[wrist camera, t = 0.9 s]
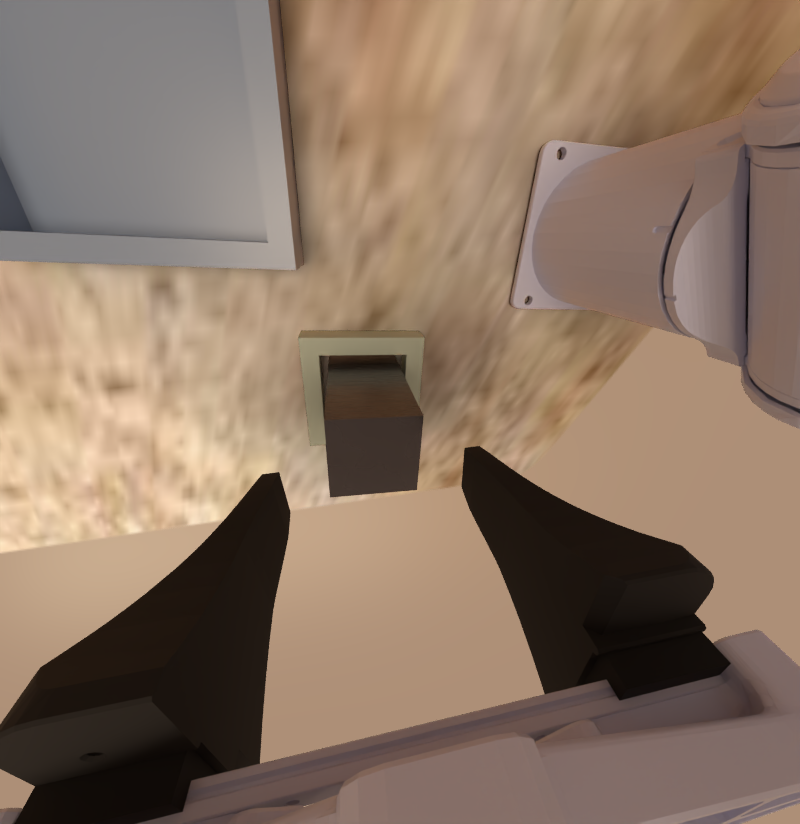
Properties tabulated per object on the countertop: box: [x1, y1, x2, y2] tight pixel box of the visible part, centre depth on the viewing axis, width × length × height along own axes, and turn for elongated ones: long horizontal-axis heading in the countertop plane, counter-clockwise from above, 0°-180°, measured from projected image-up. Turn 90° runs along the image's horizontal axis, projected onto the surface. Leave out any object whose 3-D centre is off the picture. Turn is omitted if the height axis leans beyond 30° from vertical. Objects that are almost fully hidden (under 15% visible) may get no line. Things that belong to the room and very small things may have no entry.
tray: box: [0, 0, 304, 270], centre depth 11 cm, size 12×12×4 cm
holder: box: [298, 331, 425, 446], centre depth 20 cm, size 7×7×2 cm
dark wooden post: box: [324, 355, 423, 497], centre depth 17 cm, size 4×4×8 cm
